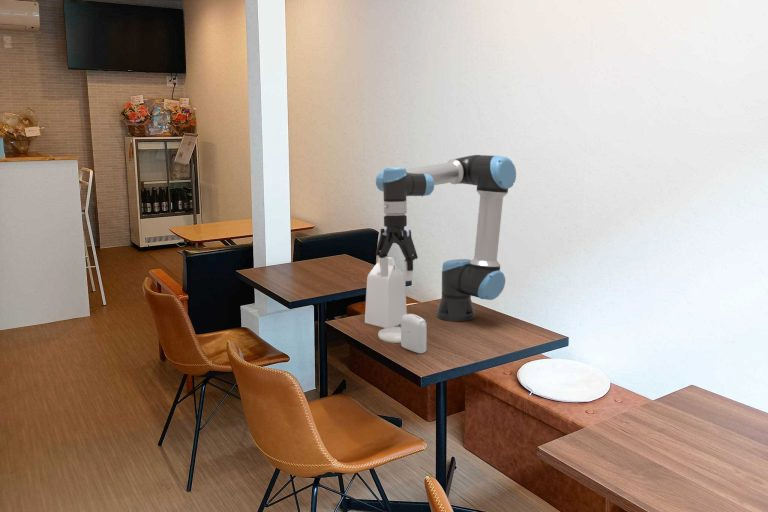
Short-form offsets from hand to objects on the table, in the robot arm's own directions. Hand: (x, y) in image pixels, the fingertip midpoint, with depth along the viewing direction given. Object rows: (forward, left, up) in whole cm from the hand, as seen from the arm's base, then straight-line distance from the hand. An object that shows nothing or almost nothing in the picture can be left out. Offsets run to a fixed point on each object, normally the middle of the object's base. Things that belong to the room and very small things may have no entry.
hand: (396, 278), depth 218 cm
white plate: (-1, -17, -26) cm, 31 cm away
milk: (+4, -34, -26) cm, 43 cm away
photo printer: (-6, -3, -26) cm, 27 cm away
